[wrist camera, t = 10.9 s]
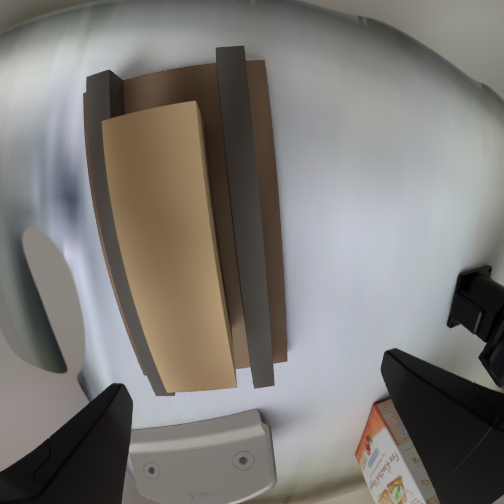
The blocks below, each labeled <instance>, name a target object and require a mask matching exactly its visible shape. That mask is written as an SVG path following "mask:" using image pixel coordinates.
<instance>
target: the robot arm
mask: <svg viewBox="0 0 504 504" xmlns="http://www.w3.org/2000/svg"><path fill="white" fill-rule="evenodd" d="M491 271H492V267H491V266H489V265H487V266H484V267H481V268H478V269H475V270H471V271H468V272H465V273H461V274H460V275H459V277H458V281H457V286H456V291H455V296H454V300H453V304H452V308H451V312H450V316H449V320H448V323H447V326H448V327H449V328H453V327H455V326H457V325H459V324H462V325H463V326H464V327H465V328H466V329H468V330H469V331H470V332H471V333H472V334H475V335H477V336H478V337H479V338H480V339H481V340H483V341H484V342H485V343H486V342H487V344H486V346H485V347H484V349H483V351H482V353H480V355H479V357H478V358H479V360H480V361H481V362H482V365H483V366H484V367H485V369H486V370H487V372H488V373H489V375H490V376H491V378H492V379H493V381H494V382H495V384H496V385H497V386H498V387H499V388H503V389H504V286H502V285H500V284H499V283H497V282H495V281H494V280H492V279H490V275H491ZM381 374H382V377H383V379H384V382H385V384H386V387H387V389H388V392H389V395H390V397H391V400H392V402H393V405H394V407H395V409H396V411H397V413H398V415H399V417H400V419H401V421H402V423H403V425H404V427H405V429H406V431H407V433H408V435H409V437H410V439H411V441H412V443H413V445H414V447H415V449H416V451H417V453H418V455H419V457H420V459H421V462H422V464H423V466H424V468H425V470H426V472H427V474H428V477H429V479H430V481H431V483H432V486H433V488H434V490H435V493H436V495H437V497H438V500H439V502H440V504H504V393H501V392H497V391H494V390H491V389H489V388H486V387H484V386H481V385H479V384H476V383H474V382H473V383H472V382H471V381H469V380H467V379H464V378H462V377H460V376H457V375H455V374H453V373H451V372H448V371H446V370H444V369H441V368H439V367H437V366H435V365H432V364H430V363H428V362H426V361H423V360H421V359H419V358H417V357H415V356H412V355H410V354H408V353H406V352H404V351H401V350H399V349H397V348H393V349H390V350H387V351H385V353H384V356H383V361H382V365H381ZM132 412H133V401H132V398H131V396H130V394H129V392H128V390H127V388H126V387H125V385H124V384H122V383H113V384H111V385H110V386H109V387H108V388H106V389H105V390H104V391H103V392H102V393H101V394H99V395H98V396H97V397H96V398H95V399H94V400H92V401H91V402H90V403H89V404H88V405H87V406H86V407H84V408H83V409H82V410H81V411H80V412H78V413H77V414H76V415H75V416H74V417H73V418H71V419H70V420H69V421H68V422H67V423H66V424H64V425H63V426H62V427H61V428H60V429H59V430H57V431H56V432H55V433H54V434H53V435H51V436H50V438H48V439H47V440H45V441H44V442H43V443H42V444H41V445H39V446H38V447H37V448H36V449H34V450H33V451H32V452H30V453H29V454H27V455H26V456H25V457H23V458H22V459H20V460H19V461H17V462H16V463H14V464H13V465H11V466H9V467H8V468H6V469H5V470H3V471H1V472H0V504H121V502H122V494H123V486H124V478H125V471H126V465H127V459H128V453H129V447H130V440H131V425H132Z"/></svg>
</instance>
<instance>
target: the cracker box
mask: <svg viewBox="0 0 504 504" xmlns="http://www.w3.org/2000/svg"><path fill="white" fill-rule="evenodd" d="M355 456H356V458H357V461H358V463H359V465H360V468H361V470H362V473H363V475H364V478H365V480H366V482H367V485H368V487H369V490H370V492H371V494H372V497H373V499H374V502H375V504H440V502H439V500H438V497H437V495H436V493H435V490H434V488H433V486H432V483H431V481H430V479H429V477H428V474H427V472H426V470H425V468H424V466H423V464H422V462H421V459H420V457H419V455H418V453H417V451H416V449H415V447H414V445H413V443H412V441H411V439H410V437H409V435H408V433H407V431H406V429H405V427H404V425H403V423H402V421H401V419H400V417H399V415H398V413H397V411H396V409H395V407H394V405H393V402H392V400H391V399H388V400H385V401H382V402H380V403H377V404H374V405H373V407H372V411H371V414H370V417H369V420H368V423H367V425H366V428H365V431H364V434H363V436H362V439H361V442H360V444H359V447H358V449H357V452H356V454H355Z"/></svg>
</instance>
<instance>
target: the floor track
mask: <svg viewBox="0 0 504 504" xmlns="http://www.w3.org/2000/svg"><path fill="white" fill-rule="evenodd" d="M189 101H196V102H197V105H198V107H199V110H200V112H201V115H202V118H203V120H204V123H205V132H206V142H207V151H208V161H209V169H210V178H211V187H212V195H213V203H214V211H215V219H216V226H217V234H218V241H219V248H220V256H221V263H222V269H223V276H224V283H225V290H226V296H227V303H228V309H229V315H230V321H231V327H232V338H233V349H234V359H235V369H240V368H248V367H251V372H252V378H253V384H254V389H255V388H262V387H268V386H274V370H273V364H274V363H280V362H286V361H287V334H286V310H285V289H284V271H283V254H282V239H281V224H280V210H279V197H278V185H277V173H276V162H275V151H274V141H273V130H272V121H271V111H270V102H269V93H268V84H267V76H266V68H265V60H255V61H246V59H245V50H244V46H232V47H220V48H216V63H213V64H205V65H197V66H190V67H184V68H178V69H172V70H167V71H161V72H157V73H152V74H148V75H143V76H139V77H135V78H131V79H127V80H124V81H123V80H122V79H121V78H119V77H118V76H117V75H116V74H114V73H113V72H112V71H111V70H106V71H103V72H100V73H97V74H94V75H91V76H89V77H87V81H86V93H83V105H84V131H85V145H86V156H87V165H88V174H89V181H90V188H91V195H92V201H93V207H94V213H95V218H96V223H97V228H98V233H99V237H100V242H101V246H102V251H103V255H104V259H105V263H106V267H107V270H108V274H109V278H110V281H111V285H112V288H113V291H114V295H115V298H116V301H117V304H118V307H119V311H120V314H121V317H122V319H123V322H124V325H125V328H126V331H127V334H128V336H129V339H130V342H131V344H132V347H133V349H134V352H135V354H136V357H137V359H138V362H139V364H140V367H141V369H142V371H143V374H144V375H147V377H148V379H149V381H150V384H151V386H152V388H153V390H154V392H155V395H156V396H175V392H172V393H167V391H166V389H165V387H164V384H163V382H162V380H161V377H160V375H159V372H158V370H157V367H156V365H155V362H154V359H153V357H152V354H151V351H150V349H149V346H148V343H147V340H146V337H145V335H144V332H143V329H142V326H141V323H140V319H139V316H138V313H137V310H136V307H135V303H134V300H133V297H132V293H131V290H130V286H129V282H128V279H127V275H126V271H125V267H124V263H123V259H122V255H121V251H120V246H119V242H118V237H117V232H116V227H115V222H114V217H113V212H112V206H111V200H110V194H109V187H108V180H107V173H106V164H105V155H104V145H103V133H102V121H104V120H107V119H111V118H114V117H118V116H122V115H126V114H130V113H134V112H138V111H142V110H147V109H151V108H156V107H161V106H166V105H171V104H177V103H183V102H189Z"/></svg>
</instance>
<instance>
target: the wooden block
mask: <svg viewBox="0 0 504 504" xmlns="http://www.w3.org/2000/svg"><path fill="white" fill-rule="evenodd" d="M102 133H103V145H104V155H105V164H106V173H107V180H108V187H109V194H110V200H111V206H112V212H113V217H114V222H115V227H116V232H117V237H118V242H119V246H120V251H121V255H122V259H123V263H124V267H125V271H126V275H127V279H128V282H129V286H130V290H131V293H132V297H133V300H134V303H135V307H136V310H137V313H138V316H139V319H140V323H141V326H142V329H143V332H144V335H145V337H146V340H147V343H148V346H149V349H150V351H151V354H152V357H153V359H154V362H155V365H156V367H157V370H158V372H159V375H160V377H161V380H162V382H163V384H164V387H165V389H166V391H167V393H172V392H192V391H206V390H217V389H227V388H236V387H237V380H236V370H235V359H234V349H233V338H232V327H231V321H230V315H229V309H228V303H227V296H226V290H225V283H224V276H223V269H222V263H221V256H220V248H219V241H218V234H217V226H216V219H215V211H214V203H213V195H212V187H211V178H210V169H209V161H208V151H207V142H206V132H205V123H204V120H203V118H202V115H201V112H200V110H199V107H198V105H197V102H196V101H189V102H183V103H177V104H171V105H166V106H161V107H156V108H151V109H147V110H142V111H138V112H134V113H130V114H126V115H122V116H118V117H114V118H111V119H107V120H104V121H102Z"/></svg>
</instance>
